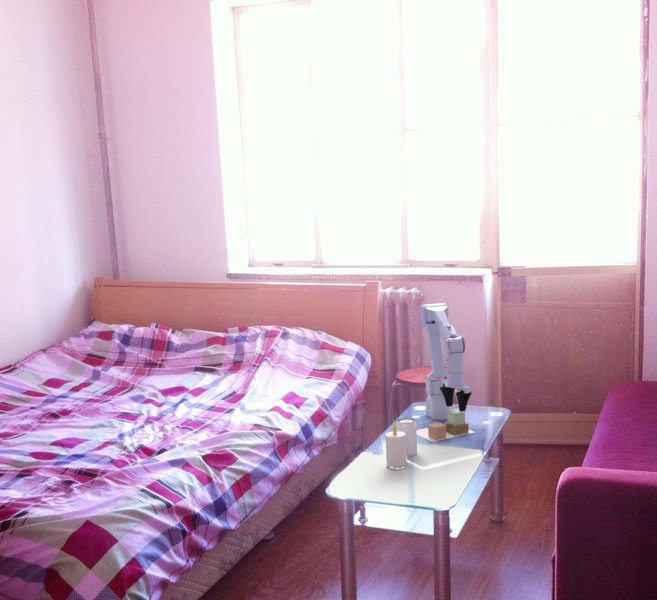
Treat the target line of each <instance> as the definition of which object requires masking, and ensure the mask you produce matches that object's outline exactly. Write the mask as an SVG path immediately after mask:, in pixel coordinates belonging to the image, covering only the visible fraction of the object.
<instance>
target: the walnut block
mask: <svg viewBox="0 0 657 600" xmlns="http://www.w3.org/2000/svg"><path fill="white" fill-rule="evenodd" d="M444 424H445V425H446V432H448V433H450V434H452V435H460V434H464V433H469V430H470V429H469V428H470V427H469V426H470V425H469V423H468V422H465V424H461V425H456V426H454V425H452V424H449V423H448V421H447V422H444Z"/></svg>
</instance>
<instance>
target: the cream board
mask: <svg viewBox="0 0 657 600" xmlns="http://www.w3.org/2000/svg"><path fill="white" fill-rule="evenodd" d="M442 424H443V425H445V423H442ZM473 433H474V434H475V431H473V430H471V429H469V433H464V434H460V435H452V434H450V433H448V432H446V438H443V439H439V440H434V439H432V438H430V437H429V435H428V427H425V428H420V429H416V434H417V436H419V437H421V438H423V439H426V440H428V441H430V442H433V443H434V442H439V441H443V440H448V439H452V438H455V437H456V438H457V437H461V436H465V435H469V434H473Z"/></svg>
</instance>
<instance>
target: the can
mask: <svg viewBox="0 0 657 600" xmlns="http://www.w3.org/2000/svg"><path fill="white" fill-rule="evenodd" d="M396 430H397V431H401V432H404V433H405V440H406V457H410V456H415V455H417V454H418V439H417V437H418V435H417V434H416V430H417V424H416V422H415V419H414V418H410V417H403V418H398V420H397V423H396Z"/></svg>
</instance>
